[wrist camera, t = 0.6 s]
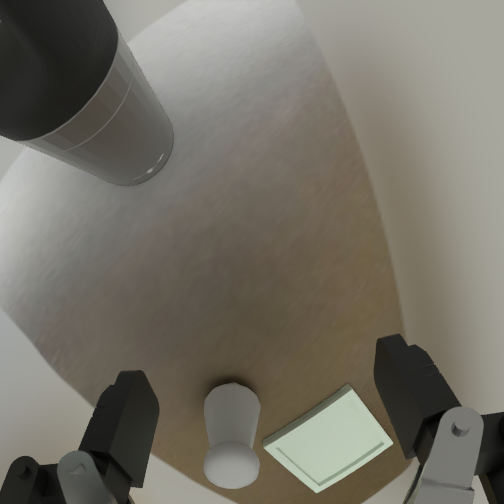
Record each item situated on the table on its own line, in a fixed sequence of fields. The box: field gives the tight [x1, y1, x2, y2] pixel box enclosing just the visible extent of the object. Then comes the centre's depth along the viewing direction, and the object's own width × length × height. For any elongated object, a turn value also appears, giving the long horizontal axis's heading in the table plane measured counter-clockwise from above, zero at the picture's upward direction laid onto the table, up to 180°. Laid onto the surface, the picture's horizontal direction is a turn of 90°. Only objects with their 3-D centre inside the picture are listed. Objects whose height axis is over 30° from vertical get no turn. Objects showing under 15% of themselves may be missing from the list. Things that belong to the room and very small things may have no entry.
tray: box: [263, 384, 393, 493], centre depth 32 cm, size 12×12×2 cm
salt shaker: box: [203, 382, 261, 489], centre depth 25 cm, size 6×6×13 cm
